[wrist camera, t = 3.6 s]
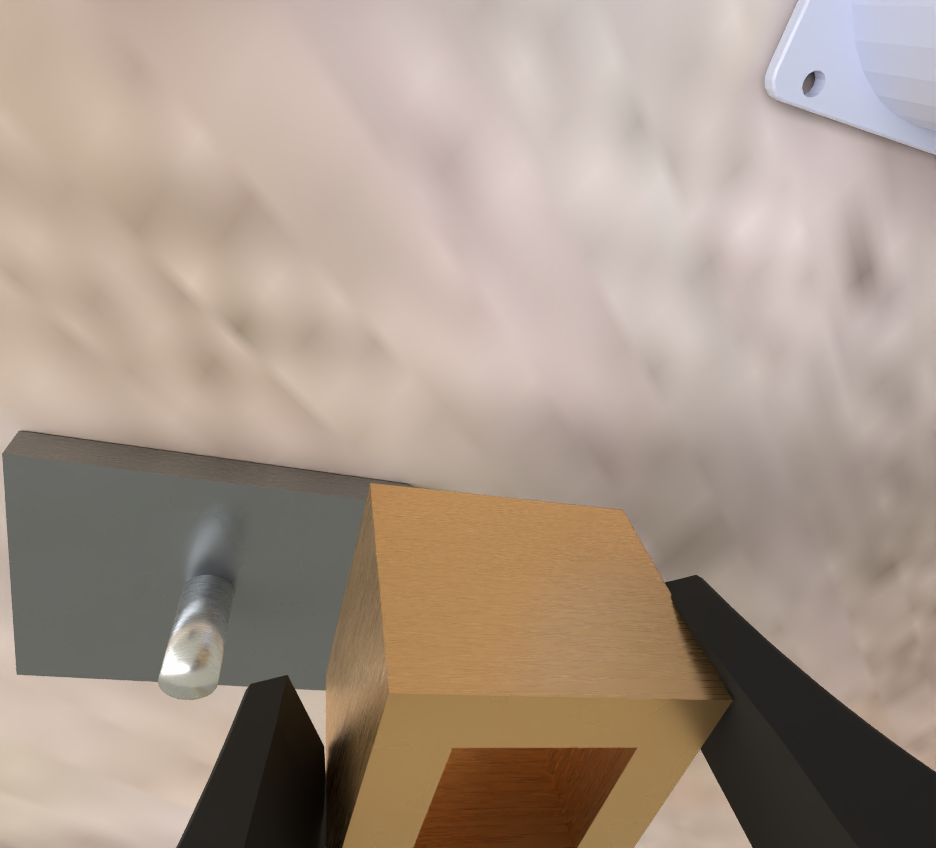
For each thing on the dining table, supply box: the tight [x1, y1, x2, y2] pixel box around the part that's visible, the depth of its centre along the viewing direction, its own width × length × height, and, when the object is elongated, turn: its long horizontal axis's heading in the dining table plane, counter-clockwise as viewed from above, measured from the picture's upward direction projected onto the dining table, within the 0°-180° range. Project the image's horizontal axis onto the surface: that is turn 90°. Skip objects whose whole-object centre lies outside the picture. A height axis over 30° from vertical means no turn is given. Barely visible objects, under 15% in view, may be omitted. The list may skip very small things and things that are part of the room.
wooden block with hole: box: [326, 483, 733, 848], centre depth 11 cm, size 5×5×4 cm
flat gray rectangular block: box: [2, 431, 409, 700], centre depth 19 cm, size 10×8×4 cm
